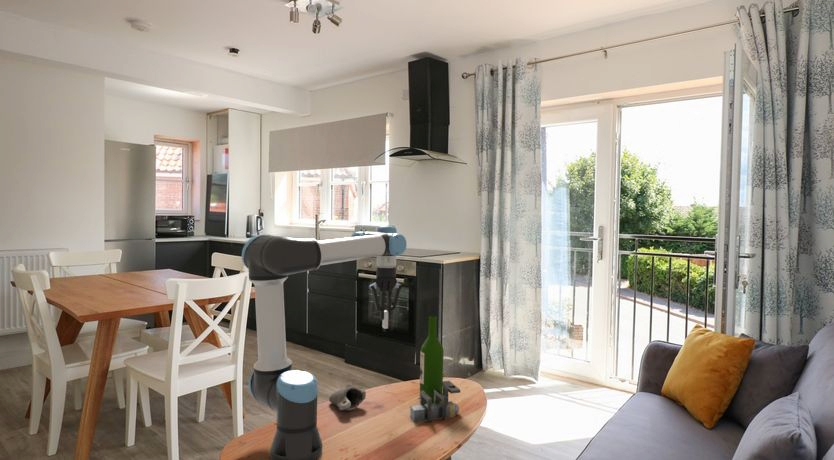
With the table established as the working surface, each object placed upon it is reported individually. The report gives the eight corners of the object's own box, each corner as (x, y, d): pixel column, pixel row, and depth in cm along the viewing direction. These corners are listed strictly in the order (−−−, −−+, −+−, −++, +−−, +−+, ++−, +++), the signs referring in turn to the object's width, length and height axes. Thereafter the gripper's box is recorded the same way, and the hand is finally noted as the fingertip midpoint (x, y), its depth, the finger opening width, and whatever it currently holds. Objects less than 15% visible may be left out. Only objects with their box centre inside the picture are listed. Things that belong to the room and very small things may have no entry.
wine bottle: (416, 396, 192) (418, 315, 191) (437, 394, 194) (439, 314, 193) (423, 405, 183) (425, 319, 182) (445, 402, 186) (447, 318, 185)
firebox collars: (428, 422, 168) (428, 394, 167) (417, 410, 178) (418, 383, 177) (460, 418, 172) (461, 390, 172) (448, 407, 182) (449, 380, 182)
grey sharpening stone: (414, 421, 168) (414, 410, 168) (410, 417, 172) (410, 406, 172) (461, 415, 174) (461, 404, 174) (456, 411, 178) (456, 400, 178)
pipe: (334, 429, 179) (357, 419, 170) (316, 414, 177) (339, 402, 169) (353, 394, 192) (376, 383, 183) (337, 380, 190) (359, 367, 182)
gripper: (372, 267, 179) (371, 331, 180) (405, 267, 184) (404, 329, 184) (367, 265, 186) (366, 326, 187) (399, 265, 191) (398, 324, 191)
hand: (385, 327), depth 186 cm, fingers closed
